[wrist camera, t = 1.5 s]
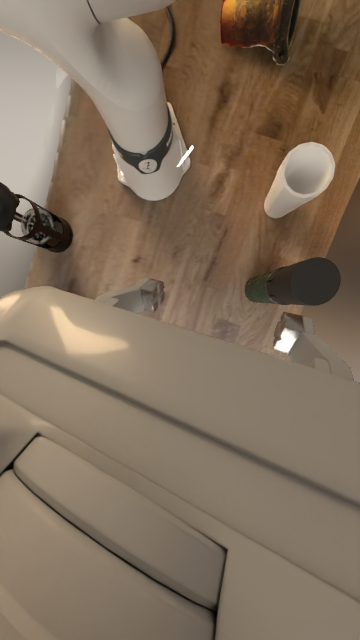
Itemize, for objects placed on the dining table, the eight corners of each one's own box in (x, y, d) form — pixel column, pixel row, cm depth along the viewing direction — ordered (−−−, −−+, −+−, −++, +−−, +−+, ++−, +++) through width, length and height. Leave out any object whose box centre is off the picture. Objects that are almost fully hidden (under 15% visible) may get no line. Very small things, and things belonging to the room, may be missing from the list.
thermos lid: (264, 271, 35) (288, 262, 26) (301, 264, 35) (338, 253, 26) (268, 306, 36) (293, 308, 27) (304, 300, 35) (342, 301, 26)
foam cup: (304, 203, 47) (346, 167, 34) (276, 232, 48) (306, 208, 35) (276, 176, 47) (308, 130, 34) (249, 206, 48) (270, 173, 35)
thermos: (243, 278, 50) (268, 269, 33) (269, 274, 50) (308, 261, 33) (246, 304, 51) (272, 307, 34) (272, 300, 50) (312, 301, 33)
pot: (228, -87, 34) (347, -143, 28) (239, -17, 44) (330, -47, 38) (210, 55, 42) (302, 36, 36) (223, 89, 51) (297, 78, 45)
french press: (79, 226, 52) (-11, 170, 29) (68, 259, 53) (-28, 229, 30) (41, 208, 52) (-79, 138, 29) (30, 241, 53) (-93, 198, 30)
